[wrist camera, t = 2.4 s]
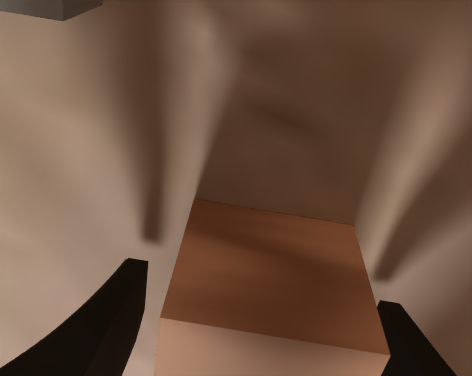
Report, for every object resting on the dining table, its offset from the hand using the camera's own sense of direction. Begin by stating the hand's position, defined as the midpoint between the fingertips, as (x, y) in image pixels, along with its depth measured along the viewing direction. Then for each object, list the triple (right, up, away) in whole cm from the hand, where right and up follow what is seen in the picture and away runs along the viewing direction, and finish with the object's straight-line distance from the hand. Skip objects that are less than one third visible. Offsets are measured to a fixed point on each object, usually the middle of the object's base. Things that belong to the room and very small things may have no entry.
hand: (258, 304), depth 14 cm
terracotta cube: (0, +1, +1) cm, 2 cm away
